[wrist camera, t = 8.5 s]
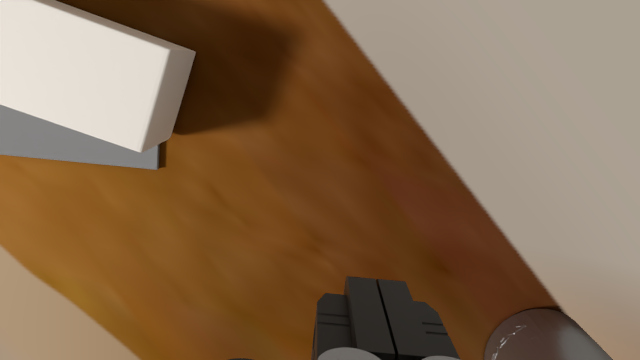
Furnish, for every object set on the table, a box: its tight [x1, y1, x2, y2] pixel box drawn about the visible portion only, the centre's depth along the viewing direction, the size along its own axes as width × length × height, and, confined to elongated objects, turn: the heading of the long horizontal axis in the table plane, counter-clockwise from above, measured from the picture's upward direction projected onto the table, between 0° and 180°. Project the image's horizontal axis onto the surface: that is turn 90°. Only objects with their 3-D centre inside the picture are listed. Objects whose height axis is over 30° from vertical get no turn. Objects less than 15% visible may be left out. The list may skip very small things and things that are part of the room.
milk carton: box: [0, 0, 196, 153], centre depth 35 cm, size 7×7×19 cm
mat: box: [0, 105, 160, 170], centre depth 40 cm, size 16×10×1 cm, turn 84°
